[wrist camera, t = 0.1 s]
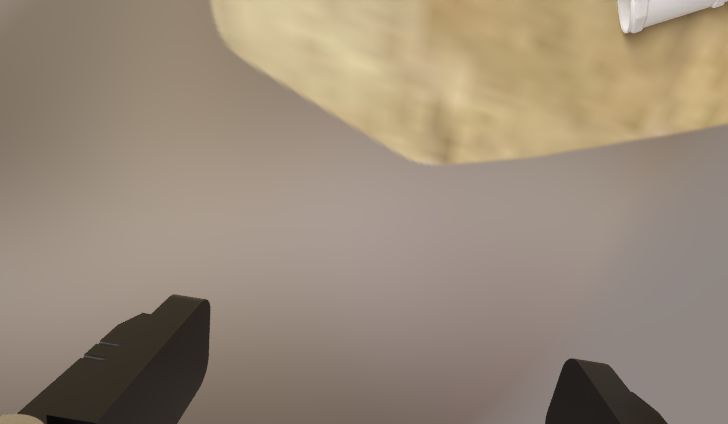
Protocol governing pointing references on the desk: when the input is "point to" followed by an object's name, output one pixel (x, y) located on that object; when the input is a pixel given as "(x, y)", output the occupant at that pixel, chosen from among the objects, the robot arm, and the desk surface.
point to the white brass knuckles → (657, 11)
